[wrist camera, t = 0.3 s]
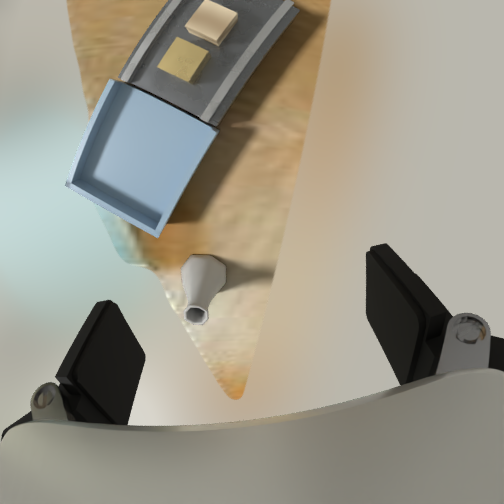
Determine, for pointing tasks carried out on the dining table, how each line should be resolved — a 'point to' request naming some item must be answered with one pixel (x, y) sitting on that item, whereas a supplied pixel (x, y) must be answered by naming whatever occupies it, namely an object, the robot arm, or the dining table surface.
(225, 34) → the beige square block
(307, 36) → the dining table surface
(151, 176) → the tray
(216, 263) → the flask
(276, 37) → the slot block
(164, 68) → the olive yellow block
